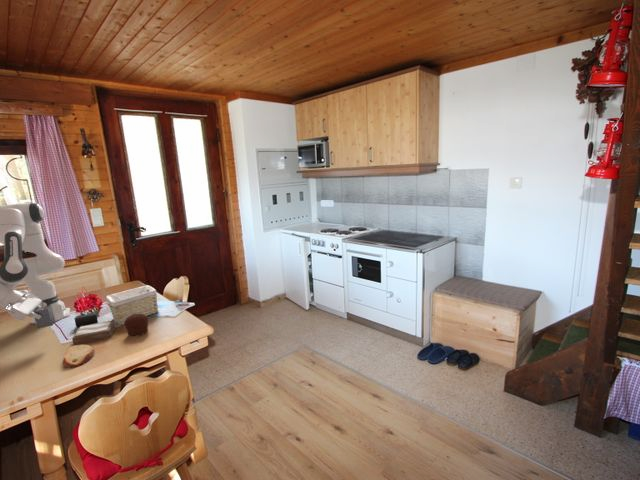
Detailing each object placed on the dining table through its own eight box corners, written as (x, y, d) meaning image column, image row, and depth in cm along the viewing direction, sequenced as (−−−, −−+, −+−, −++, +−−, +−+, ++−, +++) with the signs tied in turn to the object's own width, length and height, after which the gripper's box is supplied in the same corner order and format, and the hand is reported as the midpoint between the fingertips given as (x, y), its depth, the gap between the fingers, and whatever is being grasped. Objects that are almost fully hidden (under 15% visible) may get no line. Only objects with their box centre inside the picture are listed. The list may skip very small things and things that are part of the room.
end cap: (76, 330, 185) (74, 319, 183) (77, 326, 190) (74, 315, 189) (98, 325, 190) (96, 314, 189) (98, 321, 196) (95, 310, 194)
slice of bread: (76, 347, 166) (75, 340, 166) (108, 347, 163) (107, 340, 163) (42, 368, 149) (40, 360, 148) (77, 369, 146) (76, 361, 145)
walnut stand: (80, 334, 180) (79, 326, 179) (114, 327, 186) (113, 319, 185) (73, 345, 167) (71, 337, 166) (110, 337, 173) (108, 329, 172)
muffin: (122, 339, 171) (118, 321, 169) (130, 329, 182) (127, 312, 180) (146, 336, 173) (143, 318, 171) (153, 326, 183) (150, 309, 181)
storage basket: (116, 327, 186) (111, 302, 183) (109, 319, 198) (104, 295, 195) (161, 312, 202) (157, 289, 199) (152, 306, 214) (148, 284, 211)
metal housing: (40, 324, 169) (36, 307, 167) (55, 321, 171) (51, 305, 169) (37, 328, 164) (32, 311, 162) (52, 325, 166) (48, 308, 164)
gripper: (8, 302, 151) (39, 318, 157) (26, 288, 170) (54, 302, 176) (-2, 314, 151) (30, 328, 156) (17, 298, 169) (45, 312, 175)
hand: (43, 315), depth 166 cm, fingers closed on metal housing, 5 cm apart
